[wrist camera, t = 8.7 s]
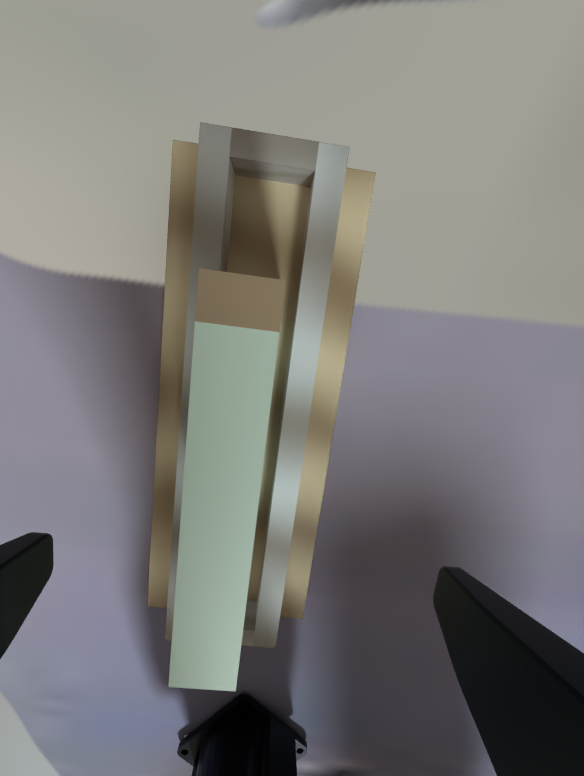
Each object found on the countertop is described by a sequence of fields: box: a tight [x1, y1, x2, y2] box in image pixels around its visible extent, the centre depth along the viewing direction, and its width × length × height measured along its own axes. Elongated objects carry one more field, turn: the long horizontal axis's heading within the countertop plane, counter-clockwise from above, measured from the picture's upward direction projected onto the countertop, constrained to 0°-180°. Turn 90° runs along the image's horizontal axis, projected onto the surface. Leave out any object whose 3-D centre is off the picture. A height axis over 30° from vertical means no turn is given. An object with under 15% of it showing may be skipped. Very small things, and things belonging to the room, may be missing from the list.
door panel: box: [168, 268, 286, 691], centre depth 14 cm, size 12×2×9 cm, turn 173°
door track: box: [147, 123, 376, 648], centre depth 18 cm, size 24×9×4 cm, turn 172°
